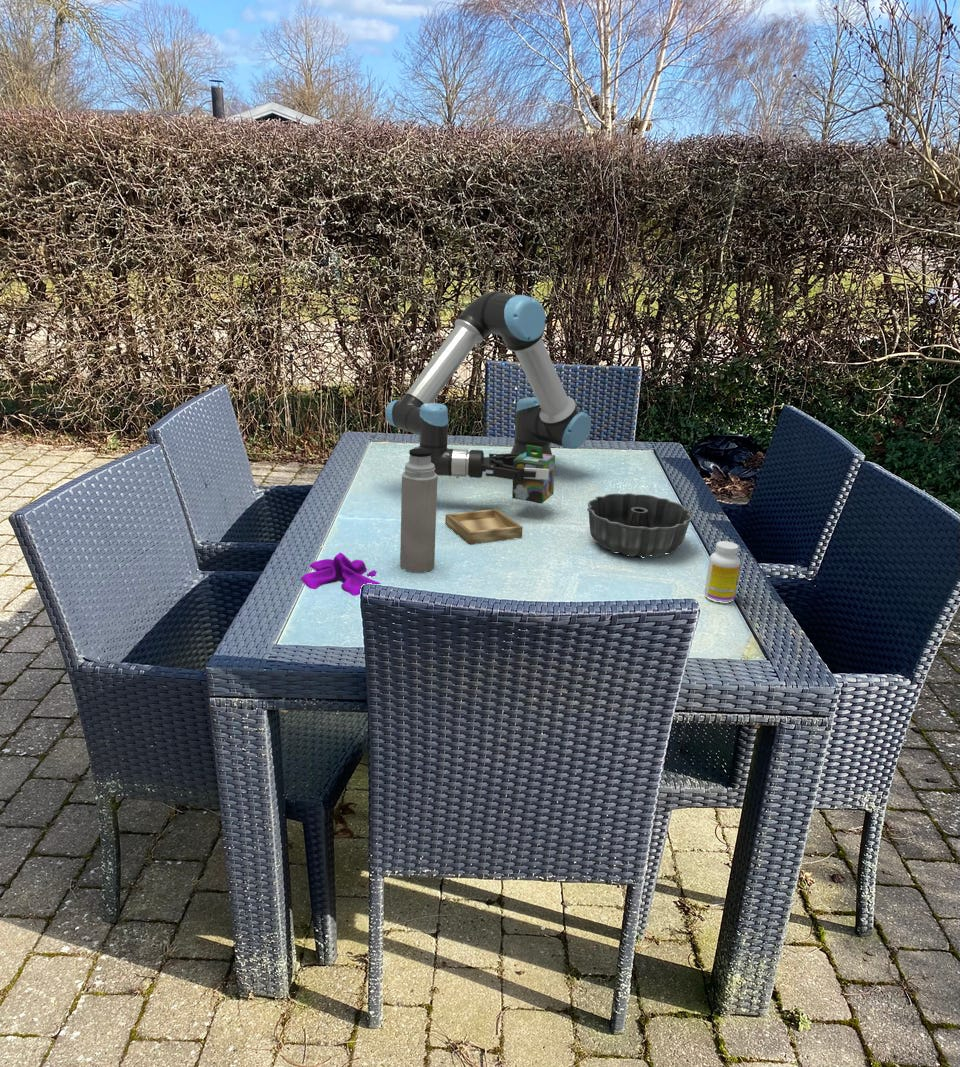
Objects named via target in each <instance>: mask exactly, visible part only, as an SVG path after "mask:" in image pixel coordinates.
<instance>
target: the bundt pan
mask: <svg viewBox="0 0 960 1067" xmlns="http://www.w3.org/2000/svg"><path fill="white" fill-rule="evenodd" d="M587 506H588V507H587V508H586V509H587V512H588V521H589V532H590V536H591V537H592V539H593V540H594V541H595V542H597V543H598V544H599V545H600V546H601V547H603V548H604V549H606V548H610V549H609V550H610V552H612V553H613V552H620V553H622V554H623V555H624V554H625V555H624V556H627V555H629V556H628V557H635V556H639V555H640V556H642V557H645V558H646V557H648V556H649V555H652V556H658V557H662V556H663V554H665V553H671V554H672V553H674V552H675V551H676V550H677V549H678V548H679V547H681V545H682V544H683V542H684V541H685V537H686V535H687V531H688V527H689V525H690V523H691V522H692V521H693V515H692V511H691V510H689V509H687V508H686V506H684V505H683V504H682V503H678V502H675V501H671V500H670V499H668V498H665V497H664V498H663V497H658V496H655V495H650V494H643V493H642V494H641V493H640V494H638V493H631V492H627V493H626V492H625V493H608V494H605V495H601V496H599V495H598V496H596V497H595V498H594V499H591V500H589V501H588V502H587ZM634 555H635V556H634ZM640 556H639V557H640ZM652 556H651V557H652ZM642 557H641V558H642Z"/></svg>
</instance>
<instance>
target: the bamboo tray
mask: <svg viewBox="0 0 960 1067" xmlns="http://www.w3.org/2000/svg"><path fill="white" fill-rule="evenodd" d="M444 520H445V523H444V524H446V525H447V526H448V527H449V528H450V529H449V528H448V527H447V526H446V525H445V526H446V527H447V528H448V529H449V530H451V529H452V530H453V531H454V532H455V533H454V532H453V531H452V530H451V531H452V532H453V533H454V534H455V535H457V534H458V535H459V536H460V537H461V538H460V537H459V536H458V535H457V536H458V537H459V538H460V539H461V540H462V541H464V542H465V541H466V542H465V543H467V544H468V545H469V544H470V545H476V544H475V543H478V544H482V543H481V542H486V543H492V542H491V541H494V542H499V541H498V540H502V541H508V540H507V539H510V540H515V539H514V538H518V539H522V538H523V530H524V527H523V526H521V525H520V523H517V522H516V521H514V520H513V519H512V518H511V517H509V516H508V515H507V514H505V513H504V512H502V511H500V510H499V509H498V508H493V509H484V510H474V511H465V512H455V513H447V514H445V518H444ZM521 537H522V538H521Z"/></svg>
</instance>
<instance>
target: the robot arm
mask: <svg viewBox="0 0 960 1067" xmlns="http://www.w3.org/2000/svg"><path fill="white" fill-rule="evenodd" d="M546 321H547V317H546V312H545V309H544V307H543V305H542V303H541V302H540V301H538V300H537V299H535V298H534V297H530V296H527V295H524V294H513V293H507V292H506V293H505V292H500V291H489V292H486V293H484V294H482V295H480V296H478V297H476V298H475V299H474V300H473V301H472V302H470V303H469V305H467V306H466V307H465V308H464V309H463V310H462V311H461V313H460V314H459V316H458V317H457V318H456V320H455V321H454V328H453V330H452V331H451V332H450V334H448V336H447V337H446V338H445V340H444V341H443V343H442V345H441V346H440V347H439V349H438V350H437V351H436V353H434V355H433V356H432V358H431V359H430V361H429V362H428V363H427V365H426V366H425V367H424V368H423V370H422V371H421V373H420V374H419V375H418V376H417V378H416V380H414V382H413V383H412V385H411V386H410V387H409V388H408V390H407V391H406V393H405V395H403V396H402V398H401V399H395V400H392V401H391V402H389V403H388V405H387V406H386V408H385V413H384V414H385V415H384V416H385V419H386V421H387V423H388V424H389V425H390V426H392V427H395V428H397V429H398V430H403V431H406V432H409V433H411V434H415V435H417V436H419V445H418V446H415V447H413V448H412V449H415V448H423V449H428V450H430V451H431V455H430V456H431V463H433V464H434V466H435V470H434V473H436V474H437V476H442V477H443V476H444V477H445V476H447V477H455V478H456V479H459V478H460V477H461V478H463V477H464V478H466V477H467V476H468V477H469V478H476V479H479V478H482V477H483V475H484V474H483V473H484V472H485V477H495V478H499V479H507V480H512V481H513V480H517V481H523V477H524V478H529V479H546V480H548V475H549V469H539V468H524V469H521V468H517V467H513V460H514V459H515V458H517V457H518V456H519V455H520V454H523V453H525V452H526V445H532V446H539V447H542V452H543V454H550V455H553V453H552V449H551V444H553V445H556V446H560V447H563V448H564V449H570V450H575V449H578V448H580V447H582V445H584V444H585V443H586V441H587V440H588V438H589V436H590V432H591V429H592V428H591V427H592V421H591V417H590V416H589V414H588V413H586V412H585V411H581V410H579V408H578V406H577V403H576V401H575V400H574V399H573V397H570V396H568V395H567V393H566V391H565V389H564V387H563V384H562V382H561V380H560V377H559V375H558V372H557V370H556V369H555V368H556V367H555V365H554V364H553V361H552V359H551V357H550V354H549V351H548V349H547V347H546V345H545V343H544V340H543V337H544V336H545V329H546V324H547V323H545V322H546ZM491 334H492V335H493V334H494V335H498V336H500V337H501V339H502V340H503V342H504V344H505V347H506V348H507V350H509V351H510V352H514V353H515V356H516V358H517V360H518V362H519V364H520V366H521V368H522V371H523V372H524V374H525V377H526V379H527V381H528V384H529V386H530V388H531V389H532V392H533V394H534V396H533V397H523V398H520V399H518V401H517V404H516V410H515V419H514V420H515V422H514V423H515V425H514V441H513V442H514V443H513V446H512V448H511V451H510V453H489V454H488V456H485V457H484V455H485V453H484V451H483V450H482V449H471V450H470V451H469V450H468V449H467V448H466V449H465V448H448V437H449V436H448V433H449V432H448V431H449V413H448V410H449V409H448V406H446V405H445V404H443V403H437V402H435V400H436V399H437V397H439V394H440V393H441V392H442V391H443V389H444V388H445V387H446V385H447V384H448V383H449V381H450V379H451V378H452V376H454V374H455V373H456V372H457V370H458V369H459V367H461V365H462V363H463V362H464V361H465V359H466V358H467V357H468V355H469V354H470V352H471V351H472V350H473V349H474V347H475V346H476V345H477V344H481V343H482V342H483V341H484V339H485V338H486V337H487V336H489V335H491ZM531 452H533V453H538V451H537V450H535V449H532V450H531Z"/></svg>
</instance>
